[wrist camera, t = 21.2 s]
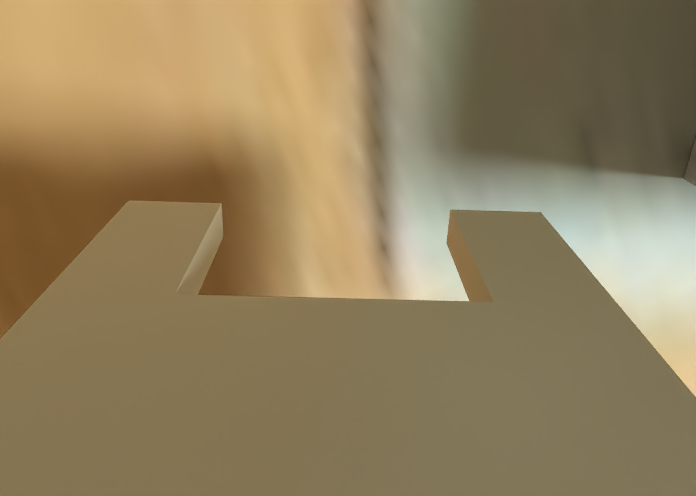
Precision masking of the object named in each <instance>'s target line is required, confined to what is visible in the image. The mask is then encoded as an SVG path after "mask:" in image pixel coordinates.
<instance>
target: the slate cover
mask: <svg viewBox="0 0 696 496" xmlns="http://www.w3.org/2000/svg"><path fill="white" fill-rule="evenodd" d="M684 179H685V180H687V181H688V182H690V183H692V184H693V185H695V186H696V137H695V140H694V144H693V147H692V151H691V154H690V158H689V161H688V165H687V168H686V172H685V175H684Z"/></svg>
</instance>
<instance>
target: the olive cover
mask: <svg viewBox="0 0 696 496" xmlns="http://www.w3.org/2000/svg"><path fill="white" fill-rule="evenodd" d="M223 237H224V236H223V219H222V203H202V202H168V201H133V200H129V201H128V202H127V203H126V204H125V205H124V206H123V207H122V208H121V209H120V210H119V211H118V212H117V213H116V215H115V216H114V217H113V218H112V219H111V220H110V221H109V222H108V223H107V224H106V225H105V226H104V227H103V229H102V230H101V231H100V232H99V233H98V234H97V235H96V236H95V237H94V238H93V239H92V240H91V241H90V243H89V244H88V245H87V246H86V247H85V248H84V249H83V250H82V251H81V252H80V253H79V254H78V256H77V257H76V258H75V259H74V260H73V261H72V262H71V263H70V264H69V265H68V266H67V267H66V268H65V270H64V271H63V272H62V273H61V274H60V275H59V276H58V277H57V278H56V279H55V280H54V281H53V282H52V284H51V285H50V286H49V287H48V288H47V289H46V290H45V291H44V292H43V293H42V294H41V295H40V296H39V298H38V299H37V300H36V301H35V302H34V303H33V304H32V305H31V306H30V307H29V308H28V309H27V311H26V312H25V313H24V314H23V315H22V316H21V317H20V318H19V319H18V320H17V321H16V322H15V323H14V325H13V326H12V327H11V328H10V329H9V330H8V331H7V332H6V333H5V334H4V335H3V336H2V337H1V339H0V496H696V397H695V396H694V395H693V394H692V392H691V391H690V390H689V389H688V388H687V386H686V385H685V384H684V383H683V382H682V380H681V379H680V378H679V377H678V376H677V374H676V373H675V372H674V371H673V370H672V368H671V367H670V366H669V365H668V364H667V363H666V361H665V360H664V359H663V358H662V357H661V355H660V354H659V353H658V352H657V351H656V349H655V348H654V347H653V346H652V345H651V343H650V342H649V341H648V340H647V339H646V337H645V336H644V335H643V334H642V333H641V331H640V330H639V329H638V328H637V327H636V325H635V324H634V323H633V322H632V321H631V320H630V318H629V317H628V316H627V315H626V314H625V312H624V311H623V310H622V309H621V308H620V306H619V305H618V304H617V303H616V302H615V300H614V299H613V298H612V297H611V296H610V294H609V293H608V292H607V291H606V290H605V288H604V287H603V286H602V285H601V284H600V283H599V281H598V280H597V279H596V278H595V277H594V275H593V274H592V273H591V272H590V271H589V269H588V268H587V267H586V266H585V265H584V263H583V262H582V261H581V260H580V259H579V257H578V256H577V255H576V254H575V253H574V251H573V250H572V249H571V248H570V247H569V245H568V244H567V243H566V242H565V241H564V240H563V238H562V237H561V236H560V235H559V234H558V232H557V231H556V230H555V229H554V228H553V226H552V225H551V224H550V223H549V222H548V220H547V219H546V218H545V217H544V216H543V214H542V213H541V212H511V211H477V210H450V218H449V227H448V235H447V245H448V248H449V250H450V253H451V255H452V258H453V260H454V263H455V265H456V268H457V271H458V273H459V276H460V278H461V281H462V283H463V286H464V288H465V291H466V293H467V296H468V298H469V301H470V302H467V301H427V300H387V299H347V298H307V297H267V296H227V295H198V294H199V291H200V289H201V287H202V284H203V282H204V280H205V278H206V275H207V273H208V271H209V269H210V266H211V264H212V262H213V259H214V257H215V255H216V253H217V250H218V248H219V246H220V244H221V241H222V239H223Z"/></svg>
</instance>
